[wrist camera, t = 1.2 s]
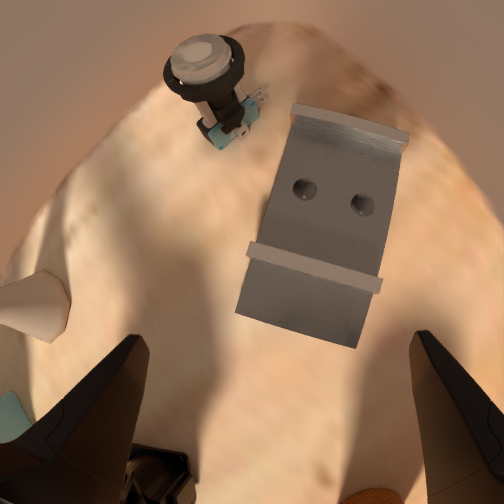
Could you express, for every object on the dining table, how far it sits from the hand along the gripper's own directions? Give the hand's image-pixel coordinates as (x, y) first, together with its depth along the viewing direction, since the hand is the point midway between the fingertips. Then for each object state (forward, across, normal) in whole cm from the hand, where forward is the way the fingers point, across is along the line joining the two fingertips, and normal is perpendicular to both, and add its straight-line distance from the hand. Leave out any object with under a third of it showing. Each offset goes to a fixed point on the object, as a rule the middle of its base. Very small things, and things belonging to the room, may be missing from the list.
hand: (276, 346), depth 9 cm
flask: (+11, +24, +10) cm, 28 cm away
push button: (+21, +4, -2) cm, 22 cm away
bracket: (+14, -3, +4) cm, 15 cm away
